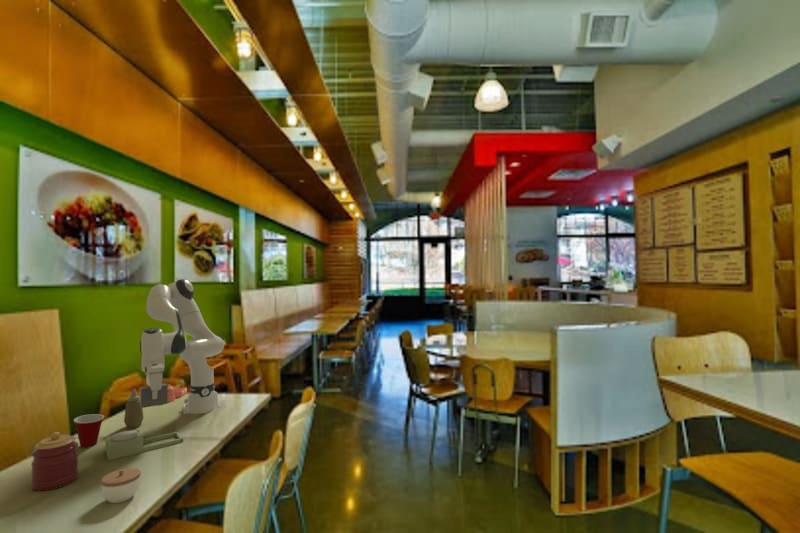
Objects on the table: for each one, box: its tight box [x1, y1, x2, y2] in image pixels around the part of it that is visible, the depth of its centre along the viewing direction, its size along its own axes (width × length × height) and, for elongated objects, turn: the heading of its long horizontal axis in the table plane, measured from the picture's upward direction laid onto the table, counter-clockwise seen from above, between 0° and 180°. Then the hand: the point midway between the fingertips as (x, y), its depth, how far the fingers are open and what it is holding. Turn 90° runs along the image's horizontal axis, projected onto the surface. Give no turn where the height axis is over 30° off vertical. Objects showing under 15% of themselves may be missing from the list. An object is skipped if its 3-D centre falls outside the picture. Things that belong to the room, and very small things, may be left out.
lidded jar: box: [100, 467, 141, 504], centre depth 139 cm, size 11×11×9 cm
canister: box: [30, 431, 79, 491], centre depth 151 cm, size 13×13×18 cm
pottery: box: [167, 384, 188, 403], centre depth 254 cm, size 18×10×10 cm, turn 7°
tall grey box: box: [139, 382, 169, 409], centre depth 187 cm, size 5×10×8 cm, turn 126°
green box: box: [105, 430, 184, 461], centre depth 181 cm, size 12×27×7 cm, turn 128°
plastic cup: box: [73, 413, 105, 449], centre depth 184 cm, size 11×11×12 cm
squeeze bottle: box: [123, 388, 145, 429], centre depth 206 cm, size 8×8×18 cm
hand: (153, 397), depth 187 cm, fingers closed on tall grey box, 5 cm apart
